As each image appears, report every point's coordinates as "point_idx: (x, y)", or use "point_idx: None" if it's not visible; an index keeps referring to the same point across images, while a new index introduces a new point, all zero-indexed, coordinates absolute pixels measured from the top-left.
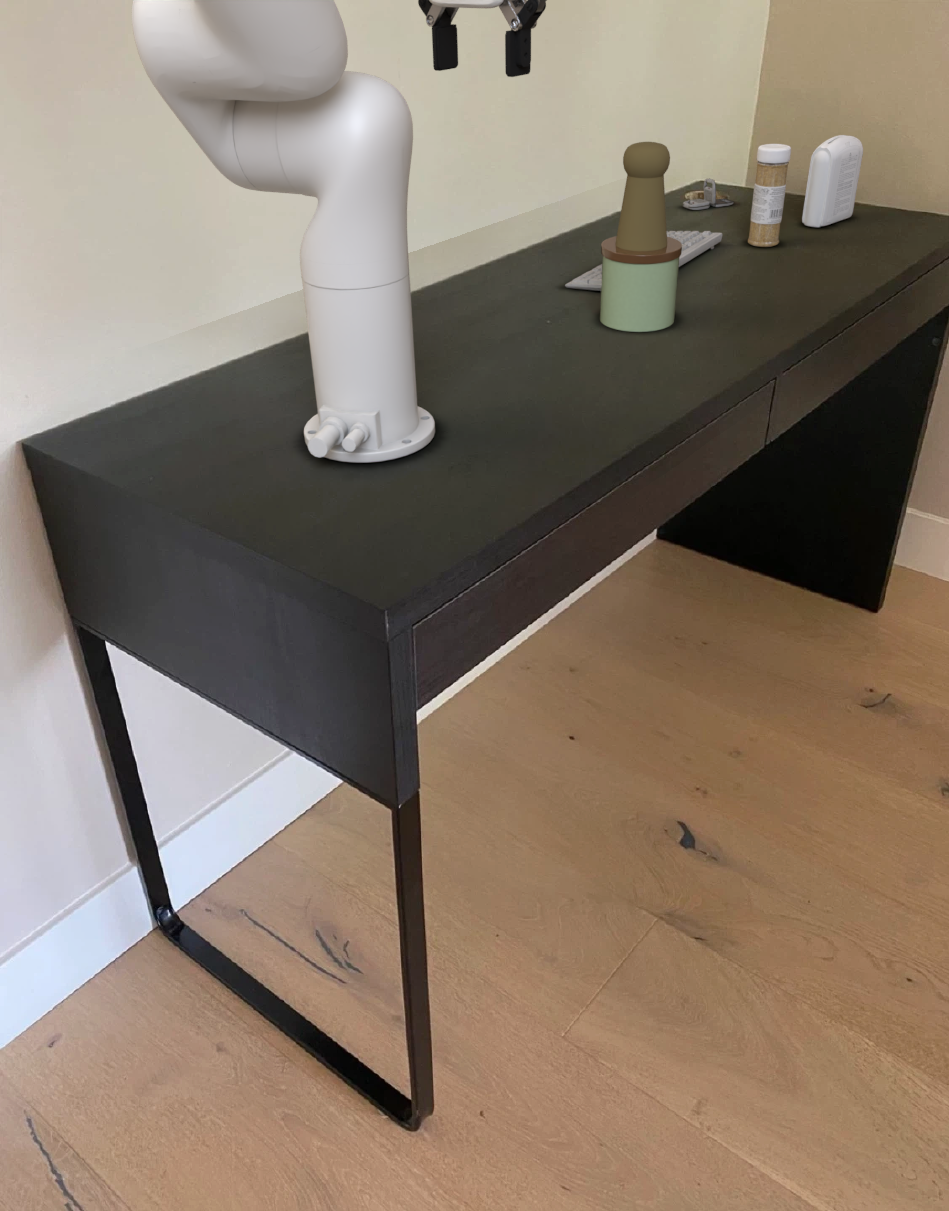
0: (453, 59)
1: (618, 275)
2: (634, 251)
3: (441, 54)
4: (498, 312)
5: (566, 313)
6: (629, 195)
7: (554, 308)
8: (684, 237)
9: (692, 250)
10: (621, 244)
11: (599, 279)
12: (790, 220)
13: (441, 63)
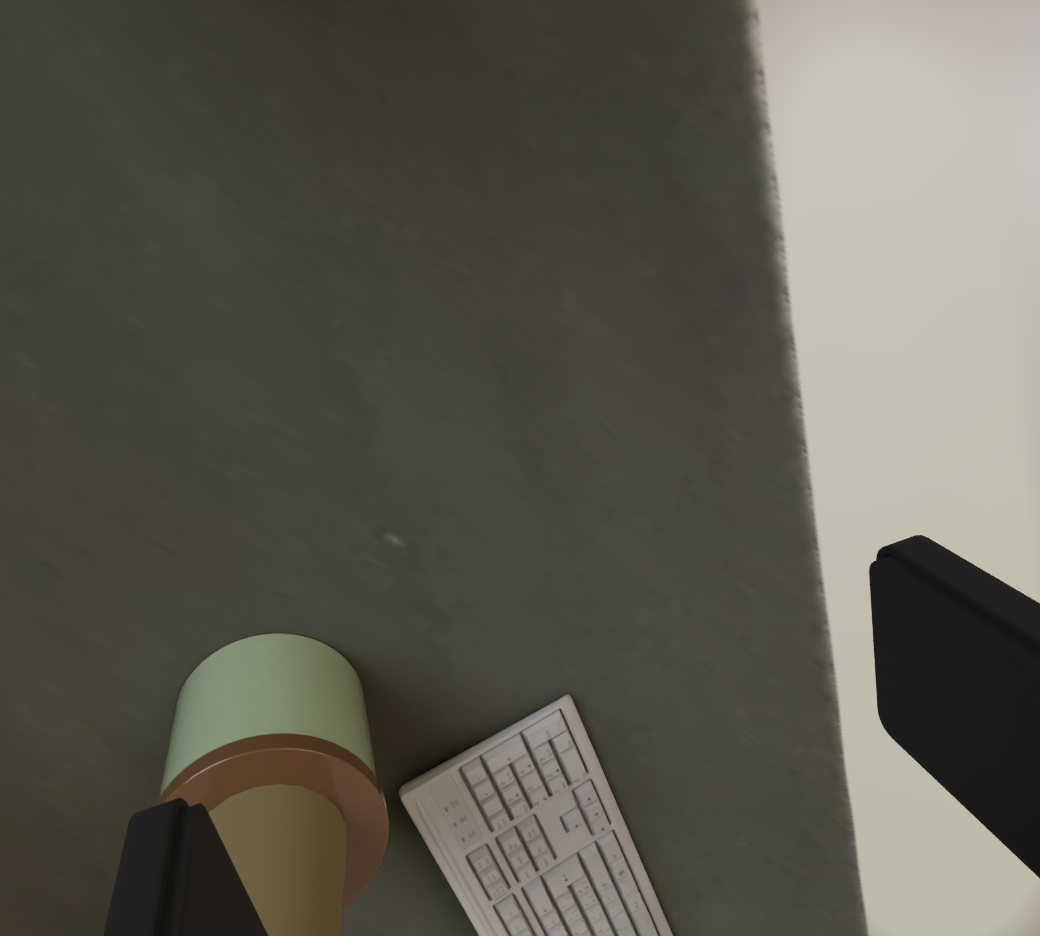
0: (908, 715)
1: (234, 719)
2: (217, 799)
3: (938, 629)
4: (531, 478)
5: (417, 605)
6: (264, 922)
7: (466, 601)
8: None
9: None
10: (270, 793)
11: (504, 759)
12: None
13: (896, 595)
